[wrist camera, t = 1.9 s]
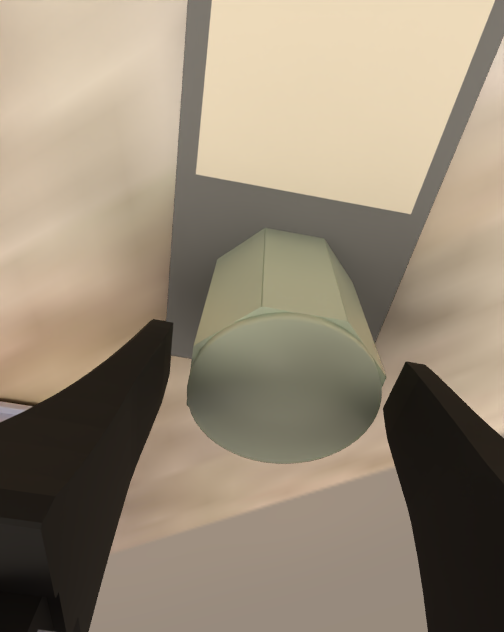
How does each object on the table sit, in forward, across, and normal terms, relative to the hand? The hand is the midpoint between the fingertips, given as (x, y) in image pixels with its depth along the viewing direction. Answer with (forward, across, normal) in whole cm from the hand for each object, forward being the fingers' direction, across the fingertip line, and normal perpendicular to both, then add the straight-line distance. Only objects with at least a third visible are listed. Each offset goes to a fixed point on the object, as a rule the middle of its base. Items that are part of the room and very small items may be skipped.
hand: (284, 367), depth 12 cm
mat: (+5, 0, -4) cm, 6 cm away
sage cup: (+5, 0, 0) cm, 5 cm away
